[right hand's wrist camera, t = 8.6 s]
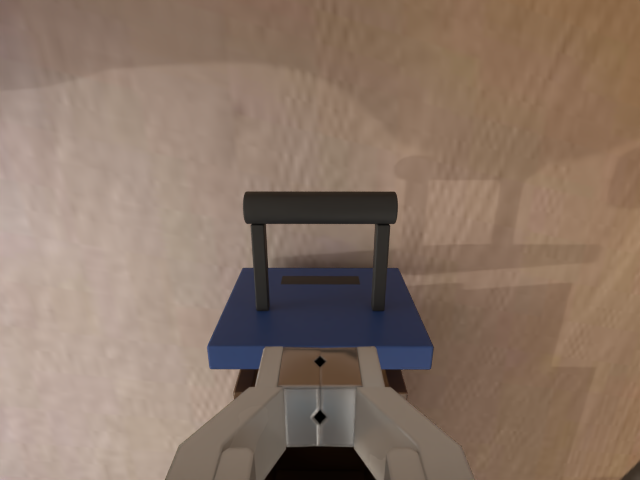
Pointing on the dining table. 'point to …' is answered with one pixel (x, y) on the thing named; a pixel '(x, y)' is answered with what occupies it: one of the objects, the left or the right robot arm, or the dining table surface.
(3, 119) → the dining table surface
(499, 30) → the dining table surface
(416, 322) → the drawer
